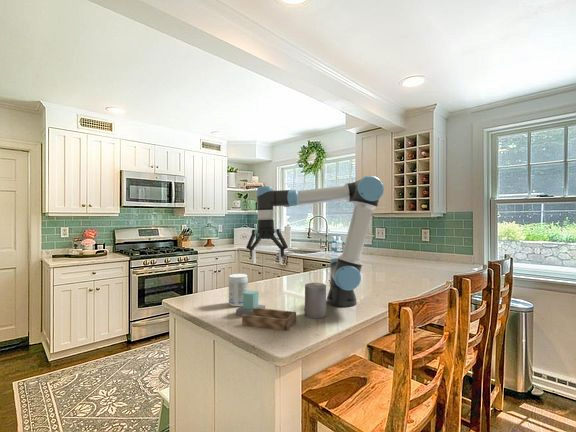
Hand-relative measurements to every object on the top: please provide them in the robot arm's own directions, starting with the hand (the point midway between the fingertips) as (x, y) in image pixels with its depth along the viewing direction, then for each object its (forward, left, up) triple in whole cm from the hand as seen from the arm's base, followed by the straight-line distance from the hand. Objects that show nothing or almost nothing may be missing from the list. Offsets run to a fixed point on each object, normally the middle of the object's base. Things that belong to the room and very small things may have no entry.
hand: (267, 263), depth 149 cm
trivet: (+5, +6, -22) cm, 24 cm away
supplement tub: (+17, -4, -22) cm, 28 cm away
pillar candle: (-24, 0, -22) cm, 32 cm away
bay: (-8, +16, -22) cm, 29 cm away
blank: (+6, +7, -20) cm, 21 cm away
